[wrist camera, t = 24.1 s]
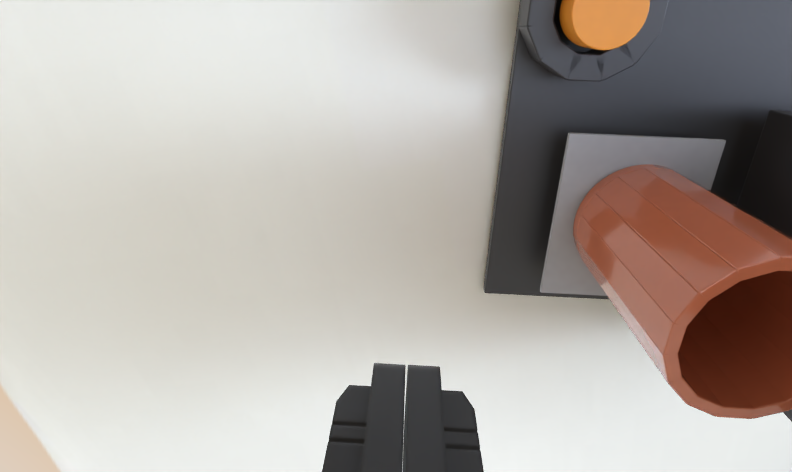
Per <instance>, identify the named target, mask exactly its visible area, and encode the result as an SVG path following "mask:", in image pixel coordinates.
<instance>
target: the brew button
mask: <svg viewBox="0 0 792 472" xmlns="http://www.w3.org/2000/svg"><path fill="white" fill-rule="evenodd" d="M649 7H650V0H562V2H561V6H560V13H559V18H560V24H561V28H562V30H563V32H564V34H565V36H566V37H567V38H568V39H569V40H570V41H571V42H572V43H574V44H576V45H578V46H580V47H584V48H590V49H596V50H611V49H615V48H618V47H620V46H622V45H624V44H626V43H627V42H629V41H630V40H631V39H632V38H634V37H635V36H636V34H637V33H638V32H639V31H640V29H641V28H642V26H643V25H644V23H645V21H646V18H647V15H648V12H649Z"/></svg>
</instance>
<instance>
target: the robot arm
mask: <svg viewBox="0 0 792 472" xmlns="http://www.w3.org/2000/svg"><path fill="white" fill-rule="evenodd" d="M404 395H405V365H398V364H381V363H374V367H373V375H372V384H371V386H355V385H349V386H348V387H347V389H346V390H345V391H344V393H343V394H342V395H341V396H340V398H339V399H338V400H337V402H336V406H335V411H334V416H333V422H332V426H331V431H330V436H329V442H328V445H327V450H326V455H325V460H324V465H323V470H322V472H402V461H403V472H483V465H482V458H481V451H480V445H479V438H478V433H477V424H476V417H475V411H474V408H473V407H472V405H471V404H470V402H469V401H468V399H467V398H466V396H465V395H464V393H463V392H462V391H444V390H441V376H440V367H436V366H418V365H408V372H407V388H406V404H405V420H404ZM403 428H404V443H403Z"/></svg>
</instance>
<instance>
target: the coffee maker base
mask: <svg viewBox="0 0 792 472" xmlns="http://www.w3.org/2000/svg"><path fill="white" fill-rule="evenodd" d="M561 2H562V0H520V7H519V14H518V22H517V30H516V38H515V46H514V54H513V61H512V69H511V77H510V85H509V93H508V101H507V108H506V116H505V124H504V132H503V140H502V148H501V156H500V163H499V171H498V179H497V187H496V195H495V203H494V210H493V218H492V226H491V234H490V242H489V250H488V257H487V265H486V273H485V281H484V292H485V293H497V294H517V295H536V296H556V297H576V298H596V299H609V298H608V296H600V295H580V294H560V293H541V292H540V285H541V279H542V274H543V268H544V263H545V257H546V252H547V246H548V241H549V235H550V230H551V224H552V219H553V213H554V208H555V202H556V197H557V191H558V186H559V180H560V175H561V169H562V164H563V158H564V153H565V147H566V142H567V136H568V133H569V132H572V133H594V134H616V135H638V136H660V137H682V138H704V139H723V140H726V143H725V146H724V149H723V152H722V156H721V159H720V162H719V165H718V168H717V172H716V175H715V178H714V181H713V184H712V187H711V191H712V192H714V193H716V194H717V195H719V196H721V197H723V198H724V199H726V200H728V201H730V202H731V203H733V204H735V205H736V206H737V203H738V200H739V197H740V195H741V192H742V189H743V186H744V183H745V180H746V177H747V174H748V171H749V168H750V165H751V162H752V159H753V157H754V154H755V151H756V148H757V145H758V142H759V139H760V136H761V133H762V130H763V127H764V124H765V122H766V119H767V116H768V113H769V111H770V110H780V111H792V0H650V7H649V12H648V15H647V18H646V21H645V23H644V25H643V26H642V28H641V29H640V31H639V32H638V33H637V34H636V36H635V37H634V38H632V39H631V40H630V41H629V42H627V43H626V44H624V45H622V46H620V47H618V48H615V49H611V50H596V49H590V48H584V47H580V46H578V45H576V44H574V43H572V42H571V41H570V40H569V39H568V38H567V37H566V36H565V34H564V32H563V30H562V28H561V24H560V18H559V13H560V6H561Z"/></svg>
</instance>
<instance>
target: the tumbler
mask: <svg viewBox="0 0 792 472" xmlns="http://www.w3.org/2000/svg"><path fill="white" fill-rule="evenodd" d="M573 237H574V242H575V245H576V248H577V250H578V252H579V254H580V256H581V258H582V260H583V262H584V263H585V264H586V266H587V267H588V269H589V270H590V272H591V273H592V275H593V276H594V277H595V279H596V280H597V282H598V283H599V285H600V286H601V287H602V289H603V290H604V292H605V293H606V295H607V296H608V298H609V299H610V300H611V302H612V303H613V305H614V306H615V308H616V309H617V310H618V312H619V313H620V315H621V316H622V318H623V319H624V321H625V322H626V323H627V325H628V326H629V328H630V329H631V331H632V332H633V333H634V335H635V336H636V338H637V339H638V341H639V342H640V344H641V345H642V346H643V348H644V349H645V351H646V352H647V354H648V355H649V356H650V358H651V359H652V361H653V362H654V364H655V365H656V367H657V368H658V369H659V371H660V372H661V374H662V375H663V377H664V378H665V379H666V381H667V382H668V384H669V385H670V386H671V387H672V388H673V389H674V391H675V392H676V393H677V394H678V395H679V396H680V397H681V399H682V400H683V401H684V402H685V403H686V404H688V405H690V406H692V407H694V408H697V409H699V410H701V411H704V412H706V413H709V414H711V415H713V416H717V417H728V418H746V419H752V418H758V417H763V416H767V415H772V414H776V413H781V412H785V411H789V410H790V409H791V410H792V238H791V237H790V236H788V235H786V234H785V233H783V232H781V231H779V230H778V229H776V228H774V227H773V226H771V225H769V224H767V223H766V222H764V221H762V220H760V219H759V218H757V217H755V216H754V215H752V214H750V213H748V212H747V211H745V210H743V209H742V208H740V207H738V206H736V205H735V204H733V203H731V202H730V201H728V200H726V199H724V198H723V197H721V196H719V195H717V194H716V193H714V192H712V191H711V190H709V189H707V188H705V187H704V186H702V185H700V184H699V183H697V182H695V181H693V180H692V179H690V178H688V177H686V176H684V175H682V174H680V173H678V172H677V171H675V170H673V169H670V168H668V167H664V166H660V165H653V164H642V165H635V166H630V167H626V168H623V169H621V170H618V171H616V172H614V173H612V174H610V175H608V176H607V177H605V178H604V179H602V180H601V181H599V182H598V183H597V184H596V185H595V186H594V187H593V188H592V189H591V190H590V191H589V192H588V193H587V195H586V196H585V197H584V199H583V200H582V202H581V204H580V205H579V208H578V210H577V213H576V216H575V219H574V226H573Z"/></svg>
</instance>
